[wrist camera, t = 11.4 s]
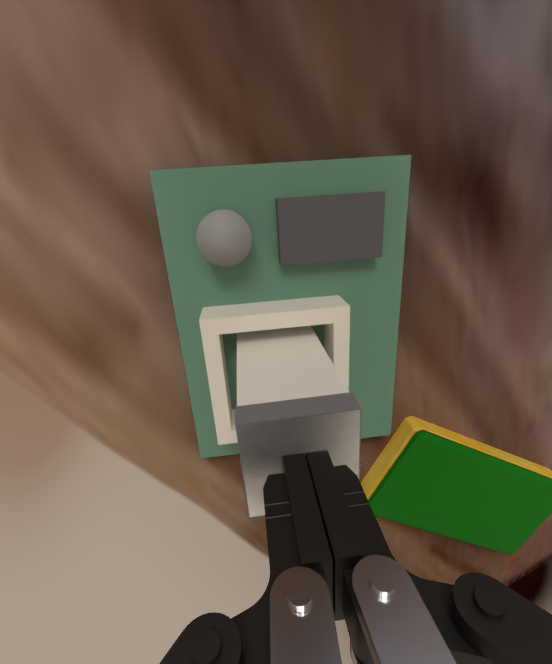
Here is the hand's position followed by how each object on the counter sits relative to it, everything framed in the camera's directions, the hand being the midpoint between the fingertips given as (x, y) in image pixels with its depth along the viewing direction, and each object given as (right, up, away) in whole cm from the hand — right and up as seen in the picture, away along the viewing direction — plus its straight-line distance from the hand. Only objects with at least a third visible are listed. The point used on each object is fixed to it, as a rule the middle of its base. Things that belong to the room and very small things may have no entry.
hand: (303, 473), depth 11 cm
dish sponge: (+13, -6, +15) cm, 20 cm away
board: (0, +5, +8) cm, 10 cm away
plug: (-1, +3, +8) cm, 8 cm away
